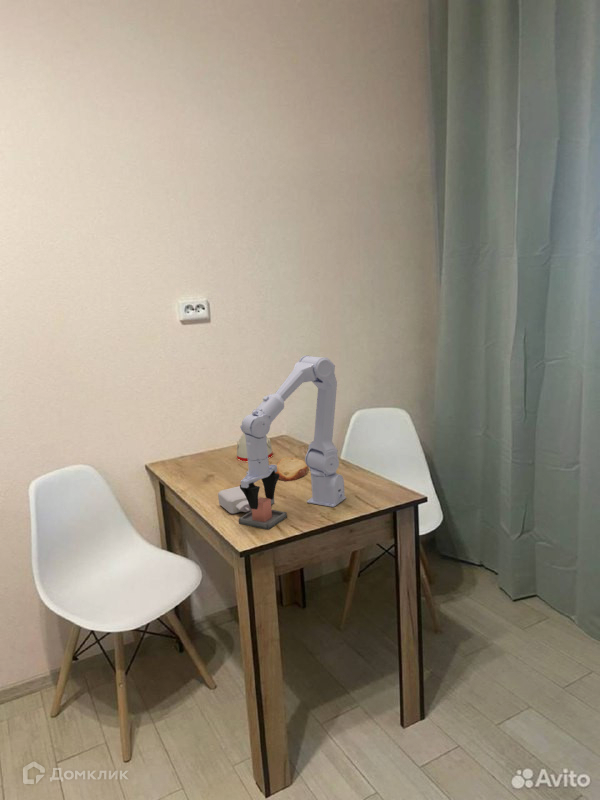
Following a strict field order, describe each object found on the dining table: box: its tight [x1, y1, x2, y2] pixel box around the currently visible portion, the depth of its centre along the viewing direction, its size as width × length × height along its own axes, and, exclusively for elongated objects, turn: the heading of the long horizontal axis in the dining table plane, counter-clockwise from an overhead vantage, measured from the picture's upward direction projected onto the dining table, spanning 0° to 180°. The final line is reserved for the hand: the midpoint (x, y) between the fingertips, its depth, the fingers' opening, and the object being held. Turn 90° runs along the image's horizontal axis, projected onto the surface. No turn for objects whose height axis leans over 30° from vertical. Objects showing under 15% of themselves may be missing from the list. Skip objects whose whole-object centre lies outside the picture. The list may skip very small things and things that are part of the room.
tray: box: [238, 509, 288, 531], centre depth 165 cm, size 10×9×2 cm
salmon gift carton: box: [252, 496, 273, 522], centre depth 165 cm, size 4×4×6 cm
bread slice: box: [275, 456, 309, 482], centre depth 207 cm, size 18×18×4 cm
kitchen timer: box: [236, 432, 274, 461], centre depth 225 cm, size 14×14×15 cm
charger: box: [217, 485, 252, 515], centre depth 174 cm, size 5×9×15 cm
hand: (262, 503), depth 164 cm, fingers open, 7 cm apart
